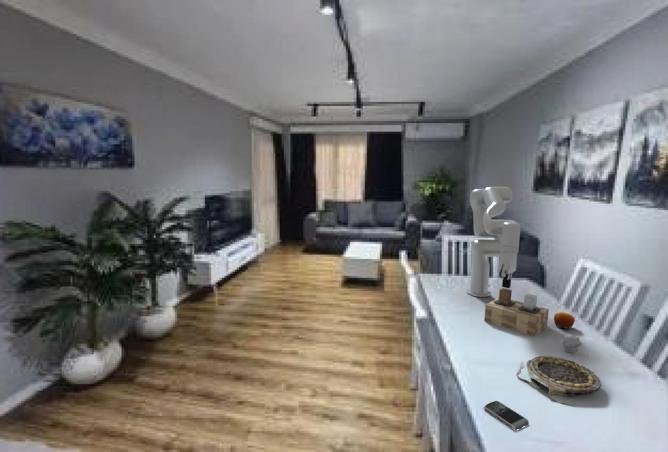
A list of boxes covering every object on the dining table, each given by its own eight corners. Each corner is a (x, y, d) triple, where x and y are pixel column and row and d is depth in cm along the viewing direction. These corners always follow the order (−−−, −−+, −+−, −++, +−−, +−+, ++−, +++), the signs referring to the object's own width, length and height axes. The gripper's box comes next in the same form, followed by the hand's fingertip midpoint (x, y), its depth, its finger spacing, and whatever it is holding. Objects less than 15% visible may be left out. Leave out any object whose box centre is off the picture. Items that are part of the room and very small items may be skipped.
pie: (526, 354, 143) (528, 342, 142) (614, 381, 126) (616, 367, 125) (507, 386, 121) (509, 372, 120) (610, 423, 104) (612, 407, 103)
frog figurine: (572, 357, 140) (574, 340, 138) (556, 348, 146) (558, 332, 145) (584, 355, 141) (587, 338, 140) (568, 347, 148) (570, 330, 147)
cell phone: (495, 403, 112) (495, 399, 112) (529, 425, 102) (530, 421, 102) (481, 409, 109) (482, 405, 109) (515, 433, 99) (516, 428, 99)
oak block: (498, 312, 184) (499, 295, 182) (546, 325, 168) (548, 307, 167) (484, 320, 173) (485, 302, 172) (534, 336, 157) (536, 316, 156)
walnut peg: (501, 305, 176) (503, 287, 175) (510, 307, 173) (511, 289, 172) (498, 307, 174) (499, 289, 172) (506, 309, 171) (508, 291, 169)
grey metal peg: (525, 312, 168) (527, 293, 167) (535, 314, 166) (537, 295, 164) (522, 314, 166) (524, 295, 164) (532, 316, 163) (534, 297, 161)
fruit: (554, 326, 164) (555, 309, 166) (552, 329, 170) (553, 312, 173) (575, 330, 160) (576, 312, 163) (573, 333, 166) (573, 316, 169)
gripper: (507, 245, 177) (504, 282, 179) (494, 249, 167) (491, 288, 169) (524, 248, 172) (520, 285, 174) (511, 252, 161) (508, 292, 164)
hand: (506, 287), depth 172 cm, fingers closed
